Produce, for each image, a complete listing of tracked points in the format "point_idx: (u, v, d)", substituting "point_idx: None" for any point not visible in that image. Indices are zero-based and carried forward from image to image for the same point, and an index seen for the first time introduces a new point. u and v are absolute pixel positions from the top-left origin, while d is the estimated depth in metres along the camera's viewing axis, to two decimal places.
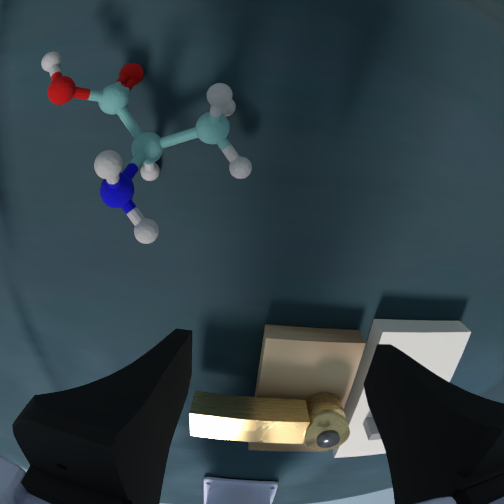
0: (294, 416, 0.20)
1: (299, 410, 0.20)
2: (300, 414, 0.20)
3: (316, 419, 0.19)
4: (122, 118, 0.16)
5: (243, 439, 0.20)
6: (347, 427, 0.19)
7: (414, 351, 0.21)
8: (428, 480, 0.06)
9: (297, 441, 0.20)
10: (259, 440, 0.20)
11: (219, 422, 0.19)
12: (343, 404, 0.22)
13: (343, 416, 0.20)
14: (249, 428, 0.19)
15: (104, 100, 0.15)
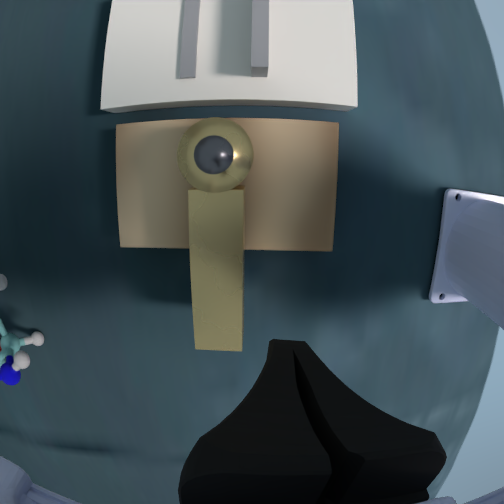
0: None
1: None
2: None
3: None
4: (1, 358, 0.19)
5: (237, 283, 0.15)
6: (191, 127, 0.13)
7: (129, 52, 0.14)
8: None
9: (237, 200, 0.14)
10: (237, 260, 0.15)
11: (204, 315, 0.15)
12: None
13: None
14: (209, 276, 0.15)
15: None
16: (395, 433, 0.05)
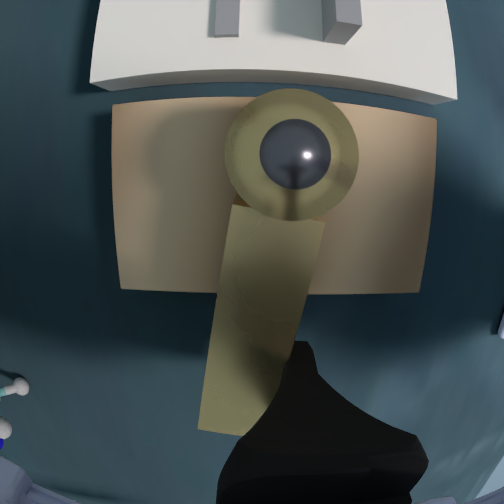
0: None
1: None
2: None
3: None
4: None
5: (281, 359, 0.09)
6: (261, 97, 0.07)
7: (136, 1, 0.09)
8: None
9: (311, 236, 0.08)
10: (290, 328, 0.09)
11: (220, 393, 0.10)
12: None
13: None
14: (240, 346, 0.09)
15: None
16: (375, 436, 0.05)
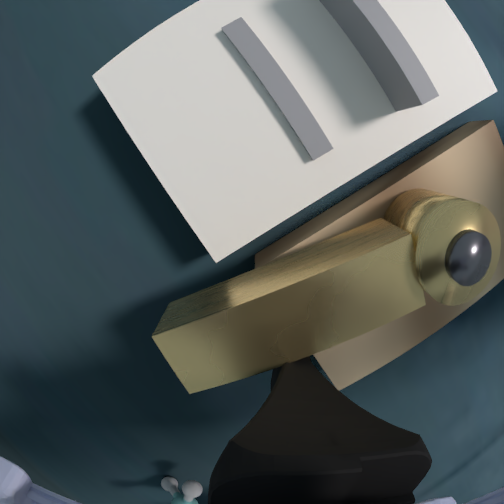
0: (373, 242, 0.09)
1: (377, 231, 0.09)
2: (383, 234, 0.09)
3: (421, 224, 0.08)
4: None
5: (296, 354, 0.09)
6: (487, 211, 0.08)
7: (201, 159, 0.10)
8: None
9: (412, 303, 0.09)
10: (331, 340, 0.09)
11: (219, 331, 0.09)
12: (393, 189, 0.11)
13: None
14: (290, 316, 0.09)
15: None
16: (379, 435, 0.05)
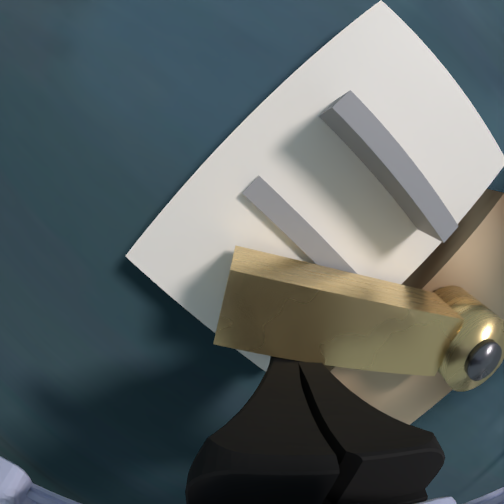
0: (436, 308, 0.09)
1: (436, 302, 0.10)
2: (442, 307, 0.10)
3: (470, 317, 0.09)
4: None
5: (334, 360, 0.09)
6: None
7: None
8: None
9: (429, 370, 0.10)
10: (365, 364, 0.09)
11: (297, 304, 0.09)
12: None
13: None
14: (357, 327, 0.09)
15: None
16: (393, 433, 0.05)
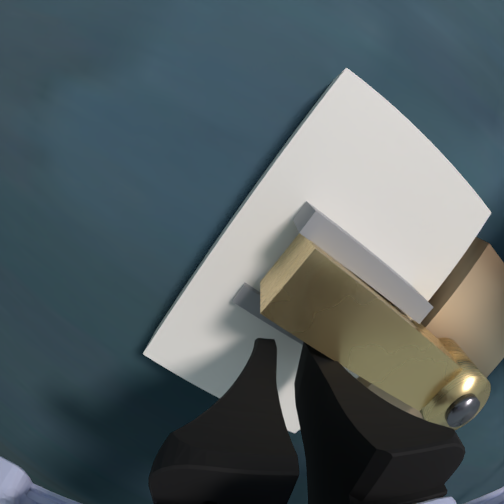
0: (445, 351, 0.10)
1: (443, 347, 0.11)
2: (448, 352, 0.10)
3: (466, 369, 0.10)
4: None
5: (356, 366, 0.10)
6: (486, 398, 0.10)
7: None
8: (329, 495, 0.06)
9: (418, 403, 0.10)
10: (377, 379, 0.10)
11: (353, 303, 0.09)
12: None
13: None
14: (388, 343, 0.09)
15: None
16: (417, 430, 0.05)
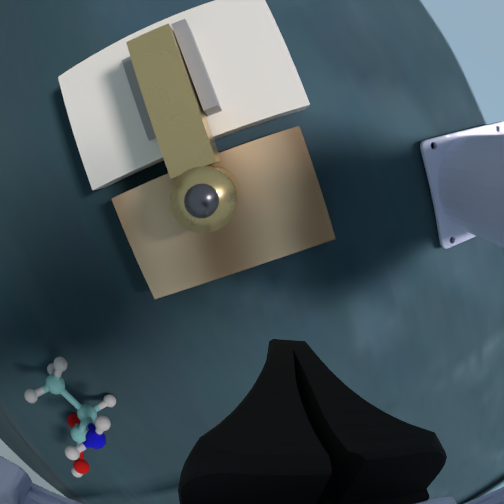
0: (211, 142, 0.15)
1: (215, 150, 0.16)
2: (215, 150, 0.15)
3: (221, 170, 0.15)
4: (82, 429, 0.23)
5: (148, 99, 0.14)
6: (230, 216, 0.15)
7: (96, 132, 0.17)
8: None
9: (172, 168, 0.15)
10: (154, 118, 0.14)
11: (168, 57, 0.13)
12: None
13: None
14: (173, 94, 0.14)
15: (79, 441, 0.23)
16: (395, 433, 0.05)
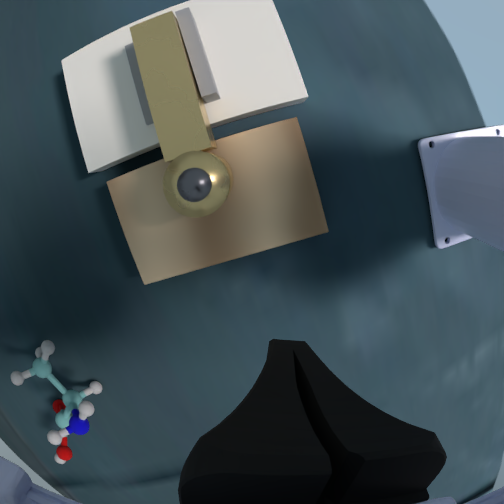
0: (207, 128, 0.15)
1: (211, 136, 0.16)
2: (210, 136, 0.15)
3: (215, 156, 0.15)
4: (67, 415, 0.23)
5: (147, 83, 0.14)
6: (222, 202, 0.15)
7: (95, 115, 0.17)
8: None
9: (167, 152, 0.15)
10: (152, 102, 0.14)
11: (169, 43, 0.13)
12: None
13: (227, 195, 0.16)
14: (172, 79, 0.14)
15: (63, 427, 0.22)
16: (395, 434, 0.05)
